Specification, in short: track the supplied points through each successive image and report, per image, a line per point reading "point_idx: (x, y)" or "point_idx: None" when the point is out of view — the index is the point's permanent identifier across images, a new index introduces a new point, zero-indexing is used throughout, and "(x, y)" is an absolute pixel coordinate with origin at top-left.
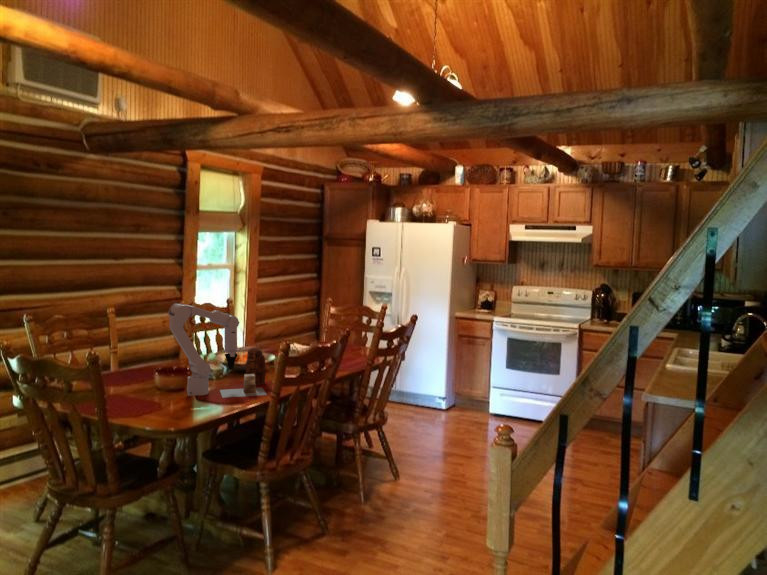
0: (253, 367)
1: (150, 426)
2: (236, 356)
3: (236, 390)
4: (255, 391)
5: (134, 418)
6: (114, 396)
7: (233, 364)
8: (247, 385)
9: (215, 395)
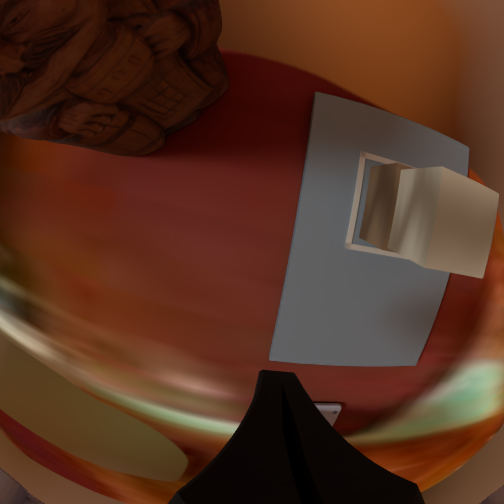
0: (143, 70)
1: (458, 466)
2: (418, 490)
3: (327, 275)
4: None
5: None
6: None
7: (313, 412)
8: None
9: (334, 381)
